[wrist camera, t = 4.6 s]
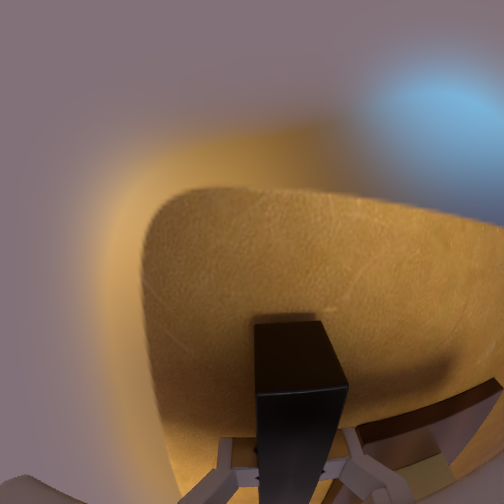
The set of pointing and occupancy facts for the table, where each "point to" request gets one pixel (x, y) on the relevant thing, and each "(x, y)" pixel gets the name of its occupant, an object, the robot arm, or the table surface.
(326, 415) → the knife
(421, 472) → the block
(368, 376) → the table surface
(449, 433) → the board
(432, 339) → the table surface
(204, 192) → the table surface
